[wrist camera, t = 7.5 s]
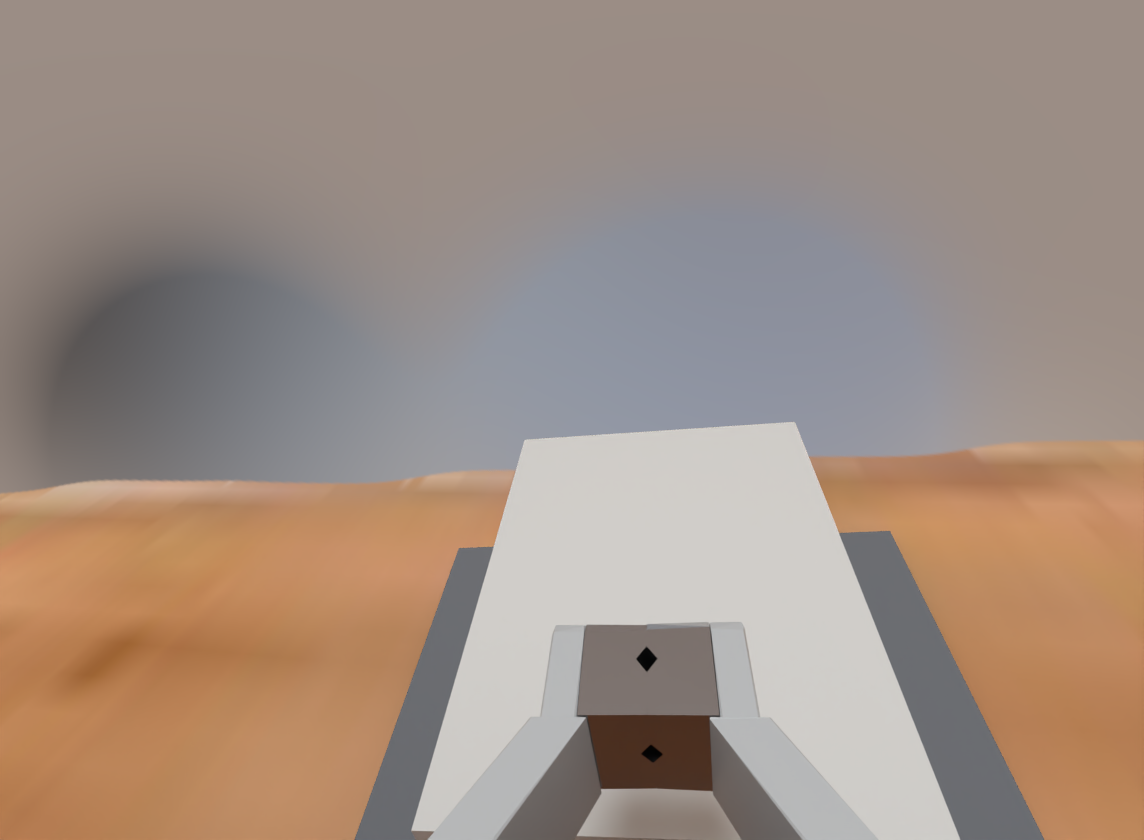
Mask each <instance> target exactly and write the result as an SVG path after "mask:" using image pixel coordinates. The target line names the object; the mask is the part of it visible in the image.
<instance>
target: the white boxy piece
mask: <svg viewBox="0 0 1144 840" xmlns="http://www.w3.org/2000/svg"><path fill="white" fill-rule="evenodd" d="M692 622H708V623H709V624H710V622H742V624H743V626H744V627H745V633H746V639H747V644H748V650H749V656H750V661H751V667H752V672H753V678H754V684H755V689H756V695H757V701H758V706H759V712H760V717H770V718H772V720H773V721H774V722H775V723H776V724H777V725H778V726H779V728H780V729H781V730H782V731H783V732H784V733H785V734H786V735H787V737H788V738H789V739H790V740H791V741H792V742H793V743H794V745H795V746H796V747H797V748H798V749H799V750H800V751H801V752H802V754H803V755H804V756H805V757H806V758H807V759H808V760H809V762H810V763H811V764H812V765H813V766H814V767H815V768H816V769H817V771H818V772H819V773H820V774H821V775H822V776H823V777H824V779H825V780H826V781H827V782H828V783H829V784H830V785H831V786H832V788H833V789H834V790H835V791H836V792H837V793H838V794H839V796H840V797H841V798H842V799H843V800H844V801H845V802H846V803H847V805H848V806H849V807H850V808H851V809H852V810H853V811H854V813H855V814H856V815H857V816H858V817H859V818H860V819H861V820H862V822H863V823H864V824H865V825H866V826H867V827H868V828H869V830H870V831H871V832H872V833H873V834H874V835H875V836H876V837H877V839H878V840H960V837H959V835H958V832H957V830H956V827H955V825H954V822H953V820H952V817H951V815H950V812H949V810H948V807H947V805H946V802H945V800H944V797H943V795H942V792H941V790H940V787H939V784H938V782H937V779H936V777H935V774H934V772H933V769H932V767H931V764H930V762H929V759H928V757H927V754H926V752H925V749H924V747H923V744H922V742H921V739H920V737H919V734H918V732H917V729H916V726H915V724H914V721H913V719H912V716H911V714H910V711H909V709H908V706H907V704H906V701H905V699H904V696H903V694H902V691H901V689H900V686H899V684H898V681H897V679H896V676H895V673H894V671H893V668H892V666H891V663H890V661H889V658H888V656H887V653H886V651H885V648H884V646H883V643H882V641H881V638H880V636H879V633H878V631H877V628H876V626H875V623H874V620H873V618H872V615H871V613H870V610H869V608H868V605H867V603H866V600H865V598H864V595H863V593H862V590H861V588H860V585H859V583H858V580H857V578H856V575H855V573H854V570H853V567H852V565H851V562H850V560H849V557H848V555H847V552H846V550H845V547H844V545H843V542H842V540H841V537H840V535H839V532H838V530H837V527H836V525H835V522H834V520H833V517H832V515H831V512H830V509H829V507H828V504H827V502H826V499H825V497H824V494H823V492H822V489H821V487H820V484H819V482H818V479H817V477H816V474H815V472H814V469H813V467H812V464H811V462H810V459H809V456H808V454H807V451H806V449H805V446H804V444H803V441H802V439H801V436H800V434H799V431H798V429H797V426H796V424H795V422H788V423H773V424H757V425H742V426H727V427H712V428H696V429H682V430H667V431H653V432H652V431H651V432H637V433H621V434H606V435H591V436H576V437H562V438H547V439H530V440H525V441H524V445H523V448H522V452H521V455H520V458H519V462H518V465H517V469H516V472H515V476H514V479H513V482H512V486H511V489H510V493H509V496H508V500H507V503H506V507H505V510H504V513H503V517H502V520H501V524H500V527H499V531H498V534H497V537H496V541H495V544H494V548H493V551H492V555H491V558H490V562H489V565H488V568H487V572H486V575H485V579H484V582H483V586H482V589H481V592H480V596H479V599H478V603H477V606H476V610H475V613H474V617H473V620H472V623H471V627H470V630H469V634H468V637H467V641H466V644H465V647H464V651H463V654H462V658H461V661H460V665H459V668H458V671H457V675H456V678H455V682H454V685H453V689H452V692H451V696H450V699H449V702H448V706H447V709H446V713H445V716H444V720H443V723H442V726H441V730H440V733H439V737H438V740H437V744H436V747H435V751H434V754H433V757H432V761H431V764H430V768H429V771H428V775H427V778H426V781H425V785H424V788H423V792H422V795H421V799H420V802H419V806H418V809H417V812H416V816H415V819H414V823H413V826H412V830H411V831H412V833H413V835H414V837H415V839H416V840H428V839H429V837H430V836H431V835H432V834H433V833H434V831H435V830H436V829H437V828H438V827H439V825H440V824H441V823H442V822H443V821H444V820H445V818H446V817H447V816H448V815H449V814H450V812H451V811H452V810H453V809H454V808H455V806H456V805H457V804H458V803H459V802H460V800H461V799H462V798H463V797H464V796H465V795H466V793H467V792H468V791H469V790H470V789H471V787H472V786H473V785H474V784H475V783H476V781H477V780H478V779H479V778H480V777H481V775H482V774H483V773H484V772H485V771H486V770H487V768H488V767H489V766H490V765H491V764H492V762H493V761H494V760H495V759H496V758H497V756H498V755H499V754H500V753H501V752H502V750H503V749H504V748H505V747H506V746H507V745H508V743H509V742H510V741H511V740H512V739H513V737H514V736H515V735H516V734H517V733H518V731H519V730H520V729H521V728H522V727H523V725H524V724H525V723H526V722H527V721H528V719H529V718H530V717H540V713H541V706H542V699H543V693H544V686H545V679H546V673H547V666H548V660H549V653H550V646H551V640H552V634H553V631H554V629H555V627H556V625H647V624H661V623H692ZM601 792H602V793H601V795H600V797H599V798H598V800H597V802H596V804H595V805H594V807H593V809H592V810H591V812H590V814H589V816H588V817H587V819H586V821H585V822H584V824H583V826H582V828H581V829H580V831H579V833H578V834H577V836H576V838H575V840H741V838H740V837H739V835H738V833H737V832H736V830H735V829H734V827H733V825H732V824H731V822H730V821H729V819H728V817H727V816H726V814H725V813H724V811H723V809H722V808H721V806H720V805H719V803H718V802H717V800H716V798H715V797H714V795H713V791H695V790H675V789H657V788H656V789H601Z"/></svg>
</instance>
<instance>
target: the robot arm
mask: <svg viewBox="0 0 1144 840" xmlns="http://www.w3.org/2000/svg"><path fill="white" fill-rule="evenodd" d="M656 788H657V789H675V790H695V791H713V795H714V797H715V798H716V800H717V802H718V803H719V805H720V806H721V808H722V809H723V811H724V813H725V814H726V816H727V817H728V819H729V821H730V822H731V824H732V825H733V827H734V829H735V830H736V832H737V833H738V835H739V837H740V838H741V840H878V839H877V837H876V836H875V835H874V834H873V833H872V832H871V831H870V830H869V828H868V827H867V826H866V825H865V824H864V823H863V822H862V820H861V819H860V818H859V817H858V816H857V815H856V814H855V813H854V811H853V810H852V809H851V808H850V807H849V806H848V805H847V803H846V802H845V801H844V800H843V799H842V798H841V797H840V796H839V794H838V793H837V792H836V791H835V790H834V789H833V788H832V786H831V785H830V784H829V783H828V782H827V781H826V780H825V779H824V777H823V776H822V775H821V774H820V773H819V772H818V771H817V769H816V768H815V767H814V766H813V765H812V764H811V763H810V762H809V760H808V759H807V758H806V757H805V756H804V755H803V754H802V752H801V751H800V750H799V749H798V748H797V747H796V746H795V745H794V743H793V742H792V741H791V740H790V739H789V738H788V737H787V735H786V734H785V733H784V732H783V731H782V730H781V729H780V728H779V726H778V725H777V724H776V723H775V722H774V721H773V720H772V718H770V717H760V712H759V706H758V701H757V695H756V689H755V684H754V678H753V672H752V667H751V661H750V656H749V650H748V644H747V639H746V633H745V627H744V626H743V624H742V622H710V624H709V623H708V622H692V623H661V624H647V625H556V627H555V629H554V631H553V634H552V640H551V646H550V653H549V660H548V666H547V673H546V679H545V686H544V693H543V699H542V706H541V713H540V717H530V718H529V719H528V721H527V722H526V723H525V724H524V725H523V727H522V728H521V729H520V730H519V731H518V733H517V734H516V735H515V736H514V737H513V739H512V740H511V741H510V742H509V743H508V745H507V746H506V747H505V748H504V749H503V750H502V752H501V753H500V754H499V755H498V756H497V758H496V759H495V760H494V761H493V762H492V764H491V765H490V766H489V767H488V768H487V770H486V771H485V772H484V773H483V774H482V775H481V777H480V778H479V779H478V780H477V781H476V783H475V784H474V785H473V786H472V787H471V789H470V790H469V791H468V792H467V793H466V795H465V796H464V797H463V798H462V799H461V800H460V802H459V803H458V804H457V805H456V806H455V808H454V809H453V810H452V811H451V812H450V814H449V815H448V816H447V817H446V818H445V820H444V821H443V822H442V823H441V824H440V825H439V827H438V828H437V829H436V830H435V831H434V833H433V834H432V835H431V836H430V837H429V839H428V840H575V838H576V836H577V834H578V833H579V831H580V829H581V828H582V826H583V824H584V822H585V821H586V819H587V817H588V816H589V814H590V812H591V810H592V809H593V807H594V805H595V804H596V802H597V800H598V798H599V797H600V795H601V793H602V792H601V789H656Z"/></svg>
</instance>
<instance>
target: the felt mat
mask: <svg viewBox="0 0 1144 840" xmlns="http://www.w3.org/2000/svg"><path fill="white" fill-rule="evenodd" d="M839 535H840V537H841V540H842V542H843V545H844V547H845V550H846V552H847V555H848V557H849V560H850V562H851V565H852V567H853V570H854V573H855V575H856V578H857V580H858V583H859V585H860V588H861V590H862V593H863V595H864V598H865V600H866V603H867V605H868V608H869V610H870V613H871V615H872V618H873V620H874V623H875V626H876V628H877V631H878V633H879V636H880V638H881V641H882V643H883V646H884V648H885V651H886V653H887V656H888V658H889V661H890V663H891V666H892V668H893V671H894V673H895V676H896V679H897V681H898V684H899V686H900V689H901V691H902V694H903V696H904V699H905V701H906V704H907V706H908V709H909V711H910V714H911V716H912V719H913V721H914V724H915V726H916V729H917V732H918V734H919V737H920V739H921V742H922V744H923V747H924V749H925V752H926V754H927V757H928V759H929V762H930V764H931V767H932V769H933V772H934V774H935V777H936V779H937V782H938V784H939V787H940V790H941V792H942V795H943V797H944V800H945V802H946V805H947V807H948V810H949V812H950V815H951V817H952V820H953V822H954V825H955V827H956V830H957V832H958V835H959V837H960V840H1044V838H1043V836H1042V834H1041V832H1040V830H1039V828H1038V826H1037V824H1036V822H1035V820H1034V818H1033V816H1032V814H1031V812H1030V810H1029V808H1028V806H1027V804H1026V802H1025V800H1024V798H1023V796H1022V794H1021V792H1020V790H1019V788H1018V786H1017V784H1016V782H1015V780H1014V778H1013V776H1012V774H1011V772H1010V770H1009V768H1008V766H1007V764H1006V762H1005V760H1004V758H1003V756H1002V754H1001V752H1000V750H999V748H998V746H997V744H996V742H995V740H994V738H993V736H992V734H991V732H990V730H989V728H988V726H987V724H986V722H985V720H984V718H983V716H982V714H981V712H980V710H979V708H978V706H977V704H976V702H975V700H974V698H973V696H972V694H971V692H970V690H969V688H968V686H967V684H966V682H965V680H964V678H963V676H962V674H961V672H960V670H959V668H958V666H957V664H956V662H955V660H954V658H953V656H952V654H951V652H950V650H949V648H948V646H947V644H946V642H945V640H944V638H943V636H942V634H941V632H940V630H939V628H938V626H937V624H936V622H935V620H934V618H933V616H932V614H931V612H930V610H929V608H928V606H927V604H926V602H925V600H924V598H923V596H922V594H921V592H920V590H919V588H918V586H917V584H916V582H915V580H914V578H913V576H912V574H911V572H910V570H909V568H908V566H907V564H906V562H905V560H904V558H903V556H902V554H901V552H900V550H899V548H898V546H897V544H896V542H895V540H894V538H893V536H892V535H891V533H890V531H879V532H854V533H839ZM493 548H494V547H477V548H459V550H458V552H457V555H456V558H455V561H454V564H453V566H452V569H451V572H450V575H449V578H448V580H447V583H446V586H445V589H444V592H443V594H442V597H441V600H440V603H439V605H438V608H437V611H436V614H435V617H434V619H433V622H432V625H431V628H430V631H429V633H428V636H427V639H426V642H425V645H424V647H423V650H422V653H421V656H420V659H419V661H418V664H417V667H416V670H415V673H414V675H413V678H412V681H411V684H410V686H409V689H408V692H407V695H406V698H405V700H404V703H403V706H402V709H401V712H400V714H399V717H398V720H397V723H396V726H395V728H394V731H393V734H392V737H391V740H390V742H389V745H388V748H387V751H386V753H385V756H384V759H383V762H382V765H381V767H380V770H379V773H378V776H377V779H376V781H375V784H374V787H373V790H372V793H371V795H370V798H369V801H368V804H367V807H366V809H365V812H364V815H363V818H362V820H361V823H360V826H359V829H358V832H357V834H356V837H355V840H416V839H415V837H414V835H413V833H412V831H411V830H412V826H413V823H414V819H415V816H416V812H417V809H418V806H419V802H420V799H421V795H422V792H423V788H424V785H425V781H426V778H427V775H428V771H429V768H430V764H431V761H432V757H433V754H434V751H435V747H436V744H437V740H438V737H439V733H440V730H441V726H442V723H443V720H444V716H445V713H446V709H447V706H448V702H449V699H450V696H451V692H452V689H453V685H454V682H455V678H456V675H457V671H458V668H459V665H460V661H461V658H462V654H463V651H464V647H465V644H466V641H467V637H468V634H469V630H470V627H471V623H472V620H473V617H474V613H475V610H476V606H477V603H478V599H479V596H480V592H481V589H482V586H483V582H484V579H485V575H486V572H487V568H488V565H489V562H490V558H491V555H492V551H493Z"/></svg>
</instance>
